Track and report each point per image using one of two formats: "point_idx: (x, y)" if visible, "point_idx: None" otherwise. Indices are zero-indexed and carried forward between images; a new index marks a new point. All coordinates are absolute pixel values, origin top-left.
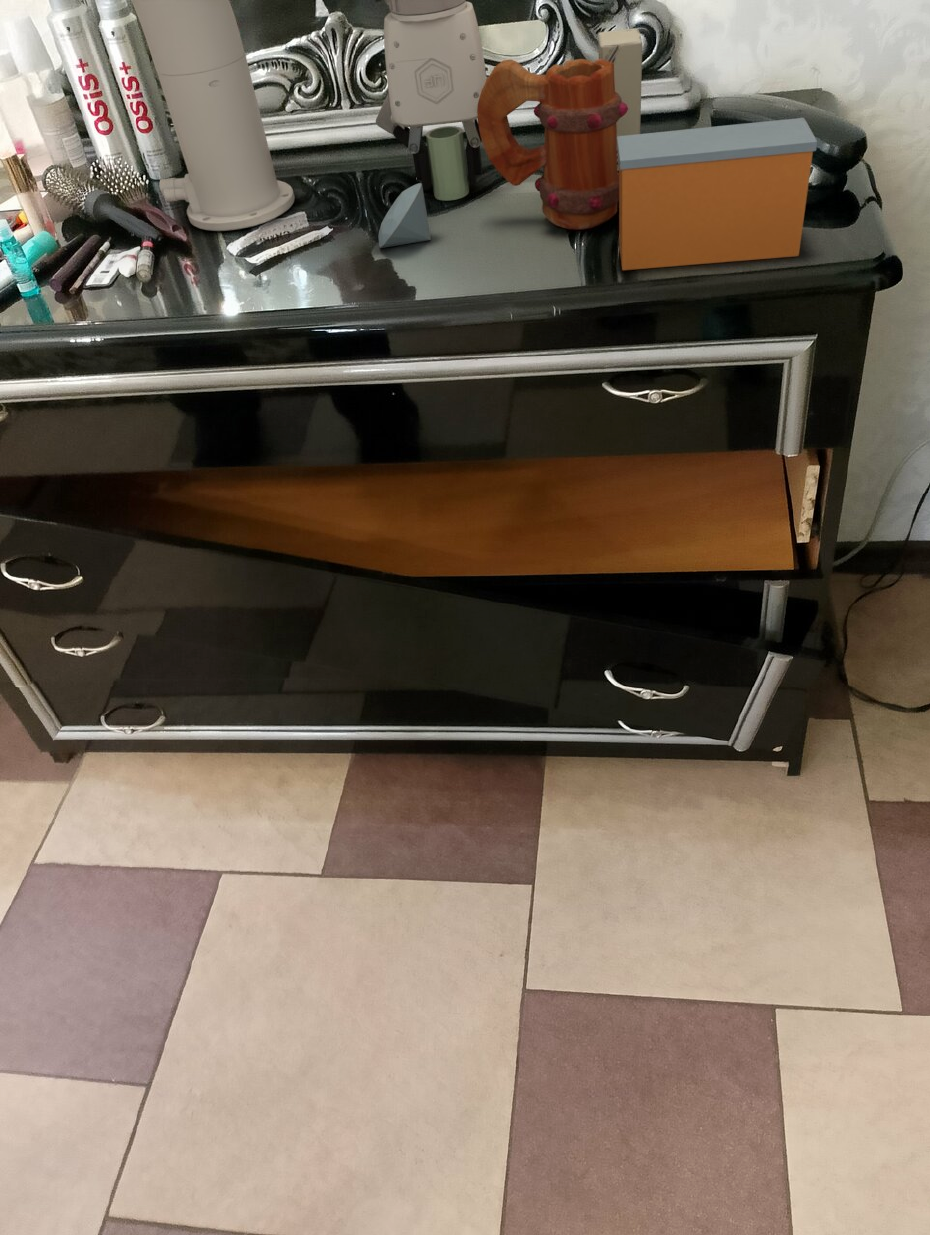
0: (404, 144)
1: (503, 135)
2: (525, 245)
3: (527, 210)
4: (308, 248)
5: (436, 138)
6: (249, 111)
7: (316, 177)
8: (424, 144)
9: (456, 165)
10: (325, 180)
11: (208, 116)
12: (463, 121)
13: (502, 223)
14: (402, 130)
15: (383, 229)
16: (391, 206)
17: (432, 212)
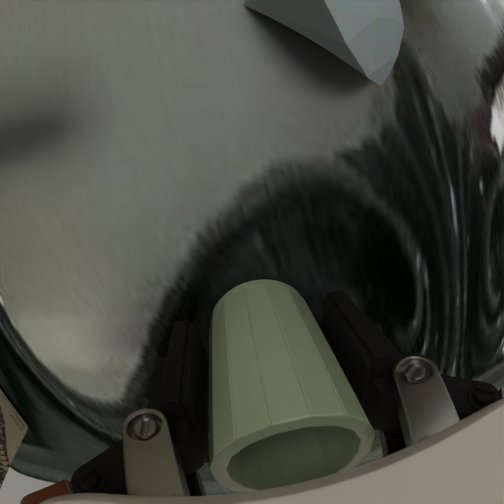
0: (447, 376)
1: None
2: (8, 25)
3: (20, 209)
4: (497, 57)
5: (326, 422)
6: None
7: (496, 359)
8: None
9: (229, 352)
10: (490, 353)
11: None
12: (146, 496)
13: (55, 121)
14: (474, 410)
15: None
16: (400, 20)
17: (291, 197)
